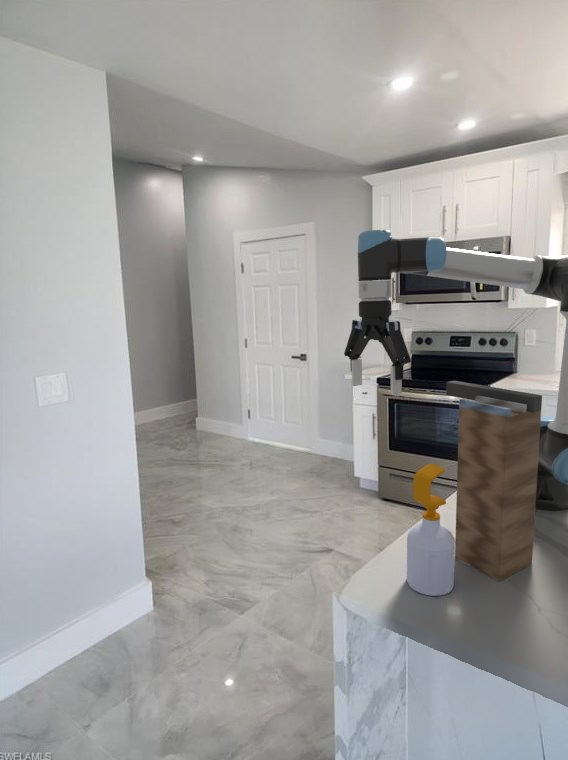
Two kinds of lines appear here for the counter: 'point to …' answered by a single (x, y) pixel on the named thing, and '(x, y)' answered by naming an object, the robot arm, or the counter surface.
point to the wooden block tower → (496, 485)
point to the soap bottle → (430, 541)
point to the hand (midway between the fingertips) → (375, 389)
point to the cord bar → (493, 394)
